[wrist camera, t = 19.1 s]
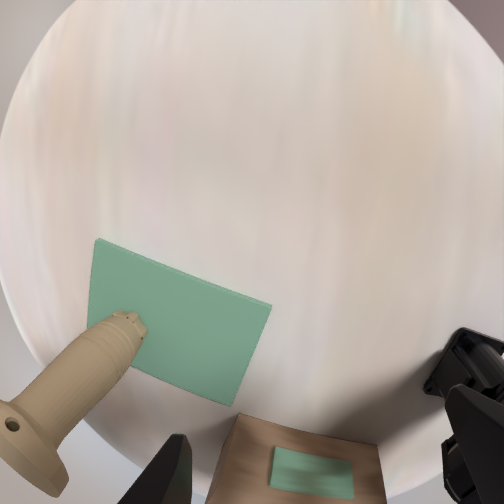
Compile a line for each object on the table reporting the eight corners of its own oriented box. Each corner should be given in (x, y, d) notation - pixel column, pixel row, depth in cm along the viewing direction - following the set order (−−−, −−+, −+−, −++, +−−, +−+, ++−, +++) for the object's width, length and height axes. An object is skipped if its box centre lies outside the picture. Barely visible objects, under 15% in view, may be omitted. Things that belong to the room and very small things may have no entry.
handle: (154, 366, 23) (58, 504, 9) (93, 323, 23) (-27, 428, 9) (176, 326, 22) (60, 483, 8) (108, 280, 22) (-42, 384, 7)
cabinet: (379, 443, 23) (390, 507, 16) (340, 482, 25) (341, 539, 18) (240, 410, 24) (220, 482, 16) (218, 454, 26) (199, 515, 19)
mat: (271, 305, 21) (271, 309, 20) (231, 402, 24) (230, 406, 23) (99, 238, 22) (95, 239, 21) (90, 339, 25) (86, 342, 24)
